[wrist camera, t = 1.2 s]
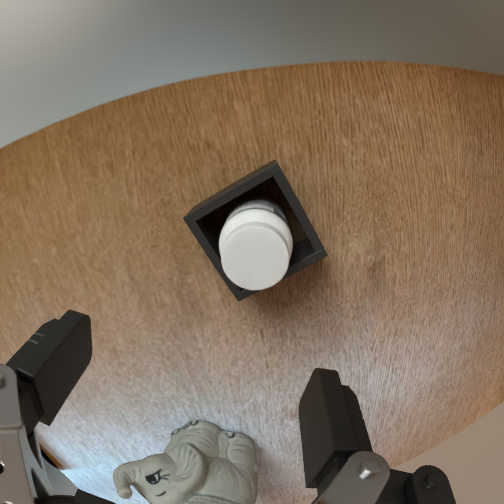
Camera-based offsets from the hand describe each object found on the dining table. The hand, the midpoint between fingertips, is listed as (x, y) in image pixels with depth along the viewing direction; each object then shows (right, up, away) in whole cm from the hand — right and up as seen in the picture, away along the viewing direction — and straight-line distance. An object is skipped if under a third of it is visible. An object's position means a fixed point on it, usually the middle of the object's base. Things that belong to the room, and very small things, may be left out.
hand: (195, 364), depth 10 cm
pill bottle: (+2, +7, +21) cm, 22 cm away
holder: (+2, +7, +21) cm, 22 cm away
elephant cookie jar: (-6, -24, +32) cm, 40 cm away
